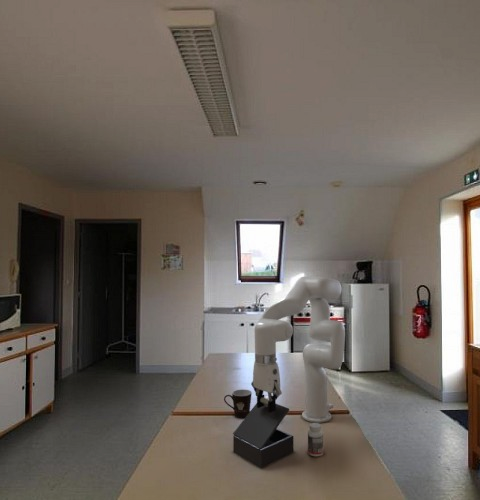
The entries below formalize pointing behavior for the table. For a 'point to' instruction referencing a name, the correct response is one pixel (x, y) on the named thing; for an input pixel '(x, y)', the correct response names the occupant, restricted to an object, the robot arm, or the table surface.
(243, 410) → the coffee mug
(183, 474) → the table surface
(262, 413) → the lid
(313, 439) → the pill bottle
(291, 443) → the dark grey storage bin
